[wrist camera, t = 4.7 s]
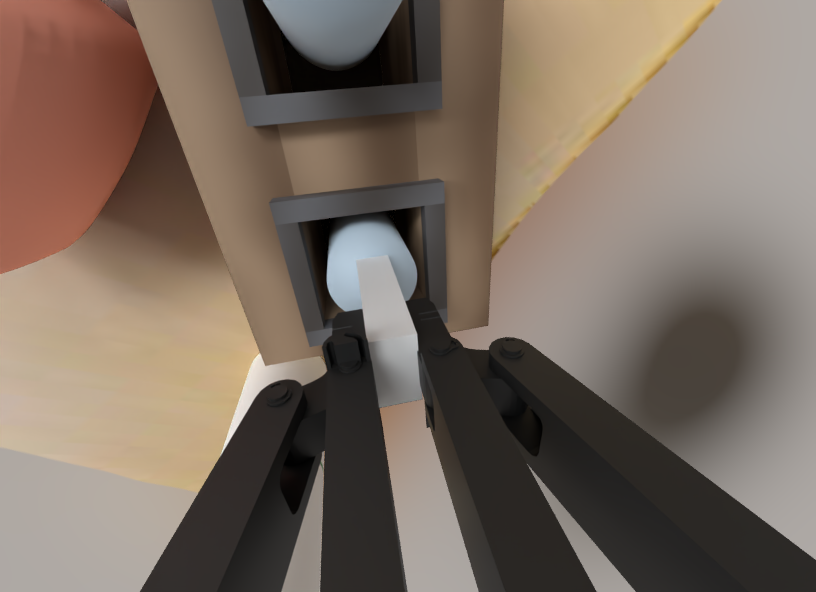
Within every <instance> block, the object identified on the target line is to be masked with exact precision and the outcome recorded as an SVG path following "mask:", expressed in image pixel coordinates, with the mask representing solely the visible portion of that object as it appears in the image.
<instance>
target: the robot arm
mask: <svg viewBox="0 0 816 592" xmlns="http://www.w3.org/2000/svg"><path fill="white" fill-rule="evenodd" d="M356 264H357V271H358V279H359V286H360V294H361V301H362V309H358V310H352V311H346V312H340V313H337V315H336V316H335V318H334V319H333V321H332V336H330V337H328V338H327V339H326V340H325V341H324V343H323V346H322V351H323V355H324V359H325V362H326V366H327V372H326V373H325V374H324V375H323V376H321V377H320V378H318V379H316V380H315V381H313V382H310V383H308V384H306V385H303V386H302V385H301V383H299V382H298V381H296V380H291V379H285V380H279V381H276V382H274V383H271V384H269V385H268V386H266V387H265V388H263V389H262V390H261V391H260V392H259V393H258V395H257V396H256V397H255V399H254V400H253V402H252V404H251V406H250V407H249V409H248V411H247V412H246V414H245V416H244V417H243V419H242V421H241V422H240V424H239V426H238V427H237V429H236V431H235V432H234V434H233V436H232V438H231V439H230V441H229V443H228V444H227V446H226V448H225V449H224V451H223V453H222V454H221V456H220V458H219V459H218V461H217V463H216V464H215V466H214V468H213V469H212V471H211V473H210V475H209V476H208V478H207V480H206V481H205V483H204V485H203V486H202V488H201V490H200V491H199V493H198V495H197V496H196V498H195V500H194V502H193V503H192V505H191V507H190V509H189V510H188V512H187V513H186V515H185V517H184V518H183V520H182V522H181V523H180V525H179V527H178V528H177V530H176V532H175V534H174V535H173V537H172V539H171V540H170V542H169V544H168V545H167V547H166V549H165V550H164V552H163V554H162V555H161V557H160V559H159V560H158V562H157V564H156V565H155V567H154V569H153V571H152V572H151V574H150V576H149V577H148V579H147V581H146V582H145V584H144V586H143V587H142V589H141V591H140V592H281V591H282V588H283V585H284V581H285V578H286V575H287V571H288V568H289V565H290V561H291V558H292V555H293V551H294V548H295V545H296V541H297V538H298V535H299V531H300V528H301V525H302V521H303V518H304V515H305V512H306V508H307V505H308V502H309V498H310V495H311V492H312V488H313V485H314V482H315V478H316V475H317V472H318V468H319V465H320V462H321V458H322V452H323V451H325V458H324V461H325V462H324V489H323V519H322V551H321V580H320V592H407V585H406V579H405V572H404V566H403V559H402V552H401V546H400V540H399V533H398V526H397V519H396V514H395V506H394V500H393V493H392V486H391V480H390V473H389V467H388V460H387V453H386V447H385V440H384V433H383V427H382V421H381V415H380V408H382V407H387V406H392V405H397V404H401V403H407V402H412V401H417V400H421V399H422V393H423V396H424V400H425V410H426V424H427V428H428V427H430V428H431V432H432V435H433V439H434V442H435V445H436V449H437V452H438V455H439V459H440V462H441V465H442V469H443V472H444V476H445V479H446V482H447V486H448V489H449V492H450V496H451V499H452V503H453V506H454V509H455V513H456V516H457V519H458V523H459V526H460V530H461V533H462V536H463V540H464V543H465V547H466V550H467V553H468V557H469V560H470V563H471V567H472V570H473V574H474V577H475V580H476V584H477V587H478V590H479V592H596V590H595V588H594V586H593V584H592V582H591V581H590V579H589V577H588V575H587V573H586V572H585V570H584V568H583V566H582V564H581V562H580V560H579V559H578V557H577V555H576V553H575V551H574V549H573V548H572V546H571V544H570V542H569V540H568V538H567V537H566V535H565V533H564V531H563V529H562V527H561V526H560V524H559V522H558V520H557V518H556V516H555V514H554V513H553V511H552V509H551V507H550V505H549V503H548V502H547V500H546V498H545V496H544V494H543V492H542V491H541V489H540V487H539V485H538V483H537V481H536V480H535V478H534V476H533V474H532V472H531V470H530V469H529V467H528V465H529V466H530V467H531V468H532V470H533V471H534V472H535V473H536V475H537V476H538V477H539V478H540V479H541V480H542V482H543V483H544V484H545V485H546V486H547V488H548V489H549V490H550V491H551V492H552V493H553V495H554V496H555V497H556V498H557V499H558V500H559V502H560V503H561V504H562V505H563V506H564V508H565V509H566V510H567V511H568V512H569V513H570V514H571V516H572V517H573V518H574V519H575V520H576V522H577V523H578V524H579V525H580V526H581V527H582V529H583V530H584V531H585V532H586V533H587V535H588V536H589V537H590V538H591V539H592V540H593V542H594V543H595V544H596V545H597V546H598V548H599V549H600V550H601V551H602V552H603V553H604V555H605V556H606V557H607V558H608V559H609V561H610V562H611V563H612V564H613V565H614V566H615V568H616V569H617V570H618V571H619V572H620V573H621V575H622V576H623V577H624V578H625V579H626V581H627V582H628V583H629V584H630V585H631V586H632V588H633V589H634V590H635V591H636V592H816V560H815V559H814V558H812V557H811V556H810V555H808V554H807V553H806V552H804V551H803V550H802V549H800V548H799V547H798V546H796V545H795V544H794V543H792V542H791V541H790V540H789V539H787V538H786V537H784V536H783V535H782V534H781V533H779V532H778V531H777V530H775V529H774V528H773V527H771V526H770V525H769V524H767V523H766V522H765V521H763V520H762V519H761V518H759V517H758V516H757V515H755V514H754V513H753V512H751V511H750V510H749V509H747V508H746V507H745V506H744V505H742V504H741V503H740V502H738V501H737V500H735V499H734V498H733V497H731V496H730V495H729V494H728V493H726V492H725V491H724V490H722V489H721V488H720V487H718V486H717V485H716V484H714V483H713V482H712V481H710V480H709V479H708V478H706V477H705V476H704V475H702V474H701V473H700V472H698V471H697V470H696V469H694V468H693V467H692V466H690V465H689V464H688V463H687V462H685V461H684V460H682V459H681V458H680V457H679V456H677V455H676V454H674V453H673V452H672V451H671V450H669V449H668V448H667V447H665V446H664V445H663V444H661V443H660V442H659V441H657V440H656V439H655V438H653V437H652V436H651V435H649V434H648V433H646V432H645V431H644V430H643V429H642V428H640V427H639V426H638V425H636V424H635V423H634V422H632V421H631V420H630V419H628V418H627V417H626V416H624V415H623V414H622V413H620V412H619V411H618V410H616V409H615V408H614V407H612V406H611V405H609V404H608V403H607V402H606V401H604V400H603V399H602V398H600V397H599V396H598V395H596V394H595V393H594V392H592V391H591V390H590V389H588V388H587V387H586V386H585V385H583V384H582V383H581V382H579V381H578V380H577V379H575V378H574V377H573V376H571V375H570V374H569V373H567V372H566V371H565V370H563V369H562V368H561V367H559V366H558V365H557V364H555V363H554V362H553V361H551V360H550V359H549V358H547V357H546V356H544V355H543V354H542V353H541V352H539V351H538V350H537V349H536V348H534V347H533V346H532V345H530V344H529V343H527V342H525V341H523V340H520V339H517V338H509V337H505V338H500V339H497V340H495V341H493V342H492V343H491V345H490V347H489V350H475V349H468V348H464V347H463V346H462V344H461V343H460V342H459V341H458V340H457V339H455V338H453V337H451V336H450V334H449V332H448V330H447V328H446V326H445V324H444V322H443V320H442V318H441V317H440V314H439V313H438V311H437V309H436V307H435V305H434V303H433V302H431V301H430V300H428V299H427V298H419V299H413V300H407V301H405V300H404V297H403V295H402V292H401V289H400V286H399V284H398V281H397V278H396V276H395V273H394V270H393V267H392V265H391V262H390V259H389V257H388V255H384V256H377V257H370V258H364V259H357V260H356ZM527 464H528V465H527Z"/></svg>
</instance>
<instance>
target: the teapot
mask: <svg viewBox="0 0 816 592" xmlns="http://www.w3.org/2000/svg"><path fill="white" fill-rule="evenodd" d="M157 85H158V82H157V80H156V77H155V75H154V72H153V69H152V67H151V64H150V61H149V59H148V56H147V54H146V51H145V48H144V46H143V43H142V40H141V38H140V35H139V32H138V30H136V29H135V28H134V27H133V26H131V25H130V24H129V23H128V22H126V21H125V20H124V19H123V18H122V17H120V16H119V15H118V14H117V13H115V12H114V11H113V10H112V9H110V8H109V7H108V6H107V5H106V4H104V3H103V2H102V1H101V0H0V274H2V273H5V272H8V271H11V270H14V269H17V268H20V267H23V266H25V265H28V264H30V263H33V262H36V261H38V260H40V259H43V258H45V257H48V256H50V255H52V254H55V253H57V252H59V251H61V250H63V249H65V248H67V247H69V246H70V245H71V244H73V243H74V242H75V241H76V240H77V239H78V238H80V237H81V236H82V235H83V234H84V233H85V232H86V231H87V230H88V228H89V227H90V226H91V224H92V223H93V222H94V220H95V219H96V217H97V216H98V214H99V213H100V212H101V210H102V208H103V207H104V205H105V203H106V202H107V200H108V199H109V197H110V195H111V194H112V192H113V190H114V189H115V187H116V185H117V183H118V182H119V180H120V178H121V176H122V175H123V173H124V171H125V169H126V167H127V165H128V163H129V161H130V159H131V157H132V155H133V152H134V150H135V148H136V145H137V143H138V140H139V137H140V135H141V132H142V129H143V127H144V124H145V121H146V118H147V115H148V113H149V110H150V107H151V104H152V101H153V98H154V95H155V92H156V88H157Z"/></svg>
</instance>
